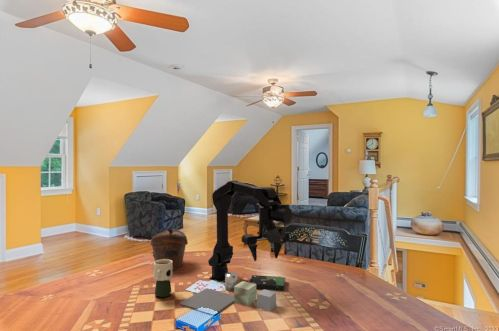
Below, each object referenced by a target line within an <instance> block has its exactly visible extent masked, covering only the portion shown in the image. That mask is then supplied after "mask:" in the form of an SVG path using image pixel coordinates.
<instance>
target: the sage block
mask: <svg viewBox="0 0 499 331" xmlns="http://www.w3.org/2000/svg"><path fill="white" fill-rule="evenodd" d="M249 282H250V281H248V282H247V281H244V280H243V281H240V282H239V283H237V285H236V286H234V291H233V293H234V294H233V295H234V303H235V304H240V305H243V306H246V307H249V306H250V305H251V304H253V303H254V302H257V289H256V284H253V283H249Z"/></svg>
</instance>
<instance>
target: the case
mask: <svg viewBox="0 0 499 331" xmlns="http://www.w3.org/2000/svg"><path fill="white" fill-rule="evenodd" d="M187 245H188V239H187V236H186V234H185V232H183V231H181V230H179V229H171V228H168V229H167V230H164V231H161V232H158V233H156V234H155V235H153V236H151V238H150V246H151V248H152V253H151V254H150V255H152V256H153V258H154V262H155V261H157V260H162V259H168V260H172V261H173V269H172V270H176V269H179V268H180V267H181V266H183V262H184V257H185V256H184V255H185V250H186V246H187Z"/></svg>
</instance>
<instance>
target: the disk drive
mask: <svg viewBox="0 0 499 331" xmlns="http://www.w3.org/2000/svg"><path fill="white" fill-rule="evenodd" d="M248 282H249V283H253V284H256V290H260V291H262V290H264V289H265V290H269V291H274V292H285V288H286V277H284V276H273V275H272V276H271V275H257V274H254V275H253V274H252V275H251V277H250V279H249V281H248Z"/></svg>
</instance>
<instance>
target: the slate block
mask: <svg viewBox="0 0 499 331" xmlns="http://www.w3.org/2000/svg"><path fill="white" fill-rule="evenodd" d="M256 304H257V305H256V306H257V307H256V308H257V309H260V310H264V311H267V312H271V311H272V310H273V309H274V308H276V306H277V291H275V290H265V289H264V290H260V291H259V292H257V293H256Z"/></svg>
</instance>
